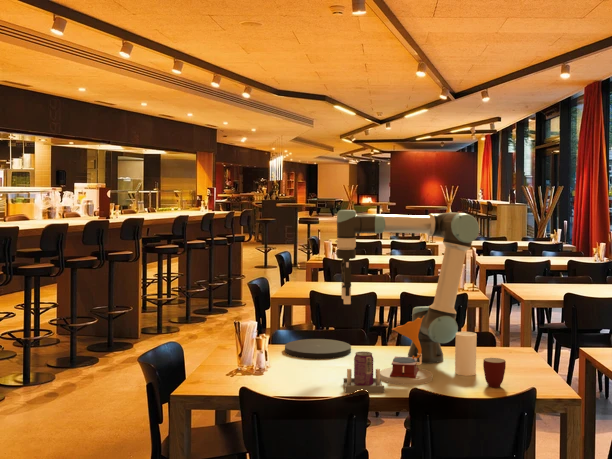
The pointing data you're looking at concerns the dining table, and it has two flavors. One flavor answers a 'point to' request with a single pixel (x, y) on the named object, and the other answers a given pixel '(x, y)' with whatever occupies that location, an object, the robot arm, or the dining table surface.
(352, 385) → the cradle tray
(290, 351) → the disc
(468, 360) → the white cylinder
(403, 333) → the gramophone
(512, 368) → the dining table surface
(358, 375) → the beverage can
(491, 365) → the mug
